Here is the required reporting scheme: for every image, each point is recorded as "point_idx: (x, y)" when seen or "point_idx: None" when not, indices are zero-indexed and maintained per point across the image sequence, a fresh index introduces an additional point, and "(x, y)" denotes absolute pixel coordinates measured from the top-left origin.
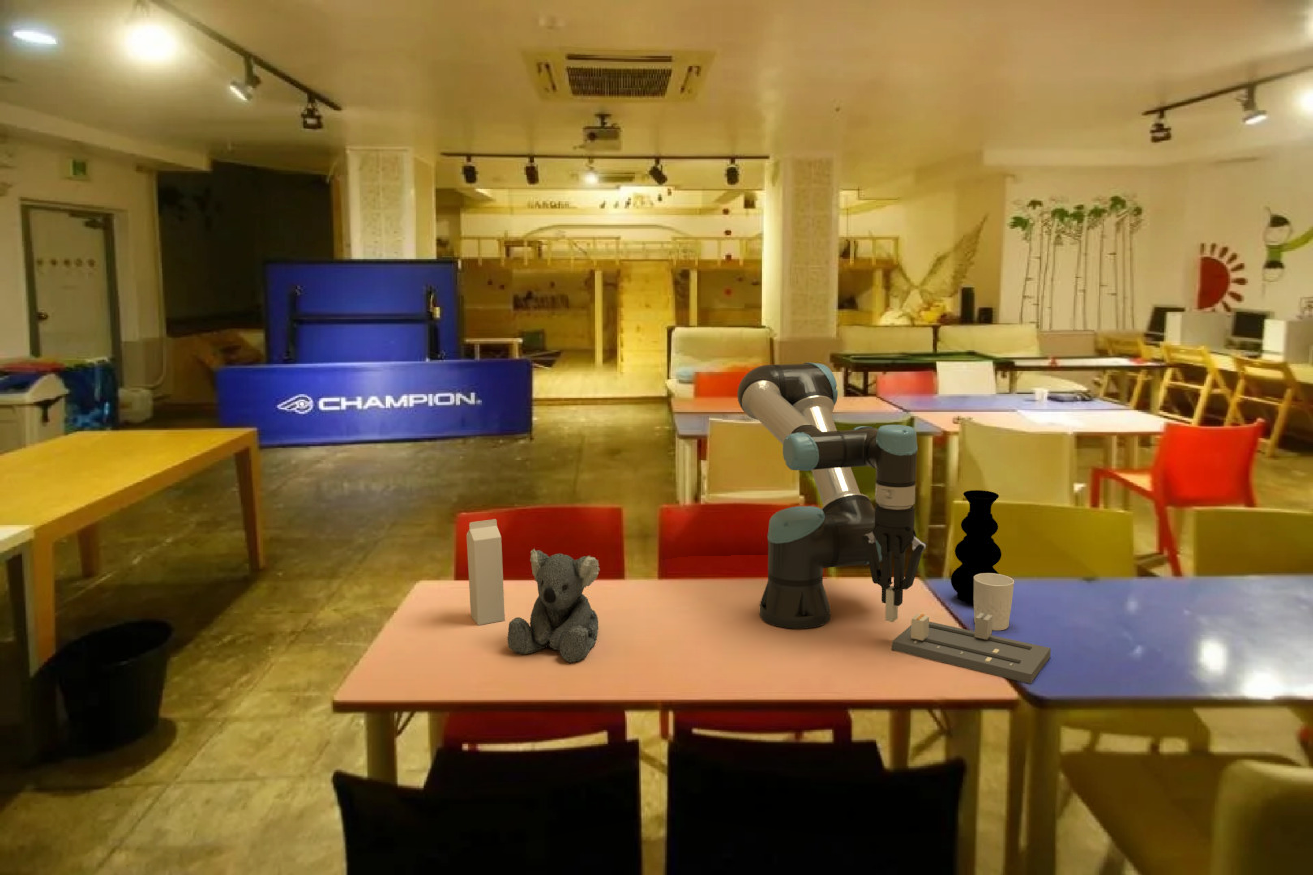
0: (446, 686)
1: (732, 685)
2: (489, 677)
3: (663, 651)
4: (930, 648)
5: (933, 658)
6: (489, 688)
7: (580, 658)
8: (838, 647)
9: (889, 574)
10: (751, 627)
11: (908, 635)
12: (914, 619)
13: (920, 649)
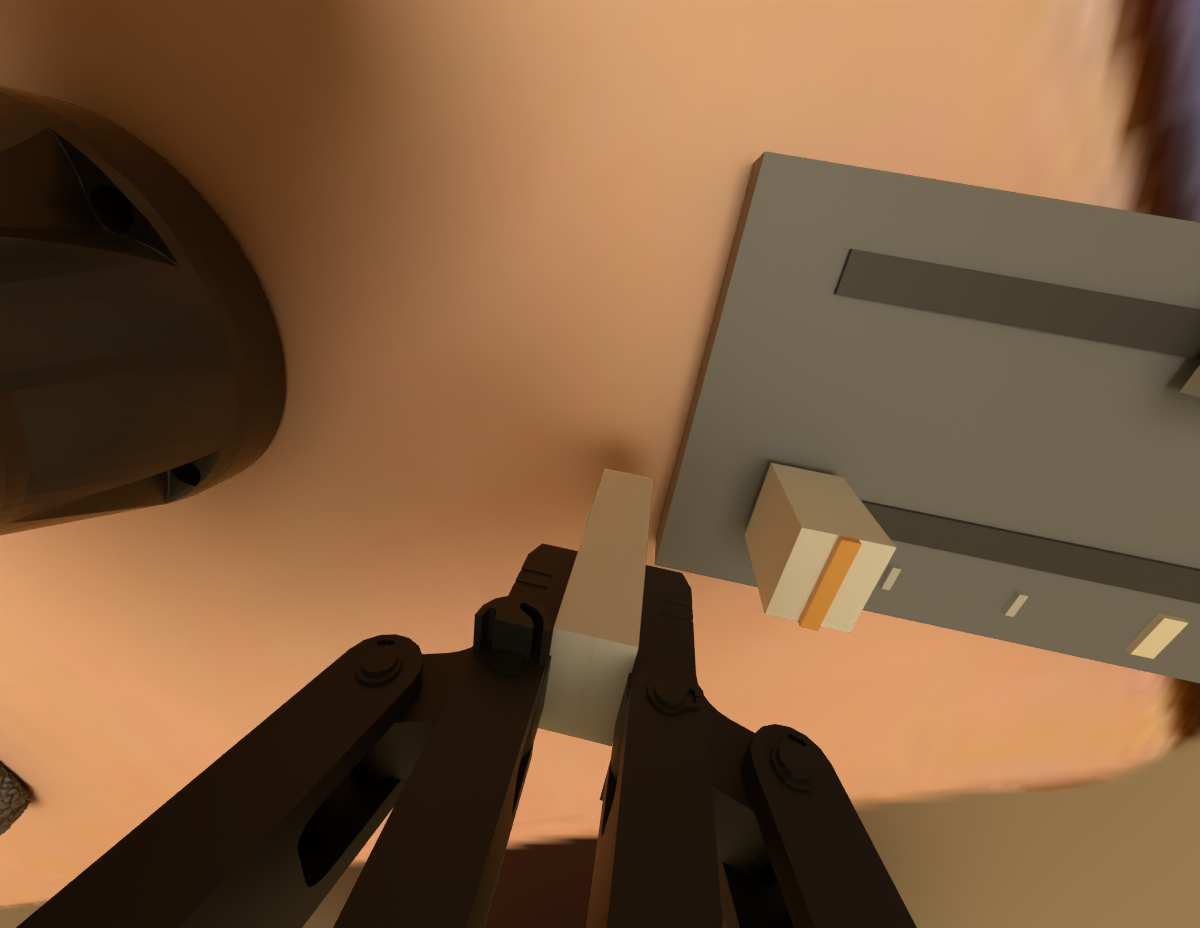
0: (3, 876)
1: None
2: (7, 851)
3: (92, 724)
4: None
5: None
6: (48, 875)
7: (24, 801)
8: (455, 579)
9: (496, 859)
10: None
11: (724, 474)
12: (784, 615)
13: None
